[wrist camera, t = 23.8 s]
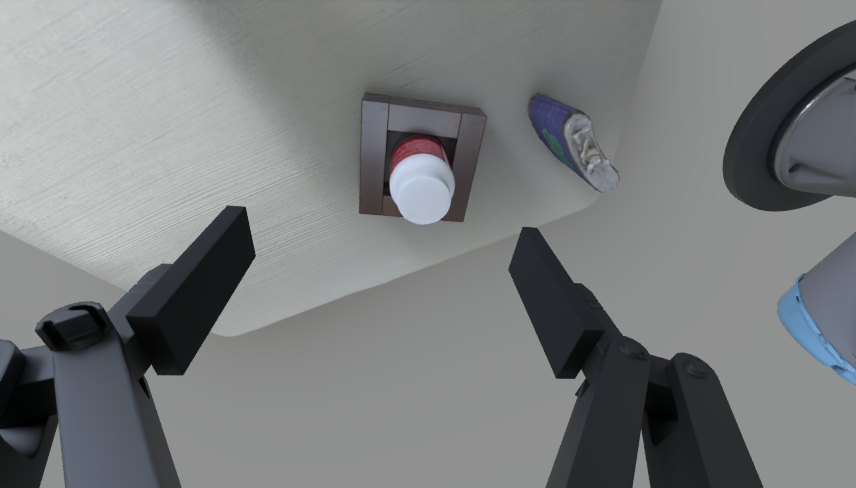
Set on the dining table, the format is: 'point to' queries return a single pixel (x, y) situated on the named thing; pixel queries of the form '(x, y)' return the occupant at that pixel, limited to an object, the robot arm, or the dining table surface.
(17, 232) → the dining table surface
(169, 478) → the robot arm
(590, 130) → the flask
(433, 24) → the dining table surface
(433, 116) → the socket base
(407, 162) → the pill bottle
